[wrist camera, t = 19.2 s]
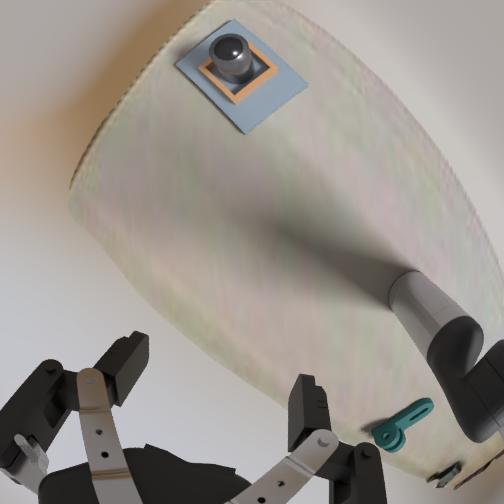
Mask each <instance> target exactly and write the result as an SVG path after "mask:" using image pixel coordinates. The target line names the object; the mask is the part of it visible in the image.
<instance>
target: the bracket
mask: <svg viewBox="0 0 504 504" xmlns="http://www.w3.org/2000/svg"><path fill="white" fill-rule="evenodd" d="M433 408H434V404H433V402H432V400H431V399H430V398H424V399H422V400H420V401H418V402H416V403H415V404H414V405H412V406H411V407H409V408H408V409H406V410H405V411H403V412H401V413H400V414H398V415H397V416H395V417H394V418H392V419H390V420H389V421H387V422H385V423H384V424H382V425H380V426H378V427H377V428H375V429H373V430H372V432H373V436H374V440H375V443H376V445H378V446H379V447H381V448H383V449H384V450H386V451H387V452H390V453H393V452H396V451H398V450H400V449H401V448H402V447H403V445H404V444H405V440H406V438H405V434H404V430H405V429H407V428H408V427H410V426H412V425H413V424H415V423H416V422H418V421H419V420H421V419H422V418H424V417H425V416H427V415H428V414H429V413H430V412H431V411H432V410H433Z"/></svg>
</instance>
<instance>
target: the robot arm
mask: <svg viewBox="0 0 504 504" xmlns="http://www.w3.org/2000/svg"><path fill="white" fill-rule="evenodd" d="M389 304H390V307H391V309H392V310H393V312H394V313H395V315H396V316H397V318H398V319H399V321H400V322H401V324H402V325H403V326H404V328H405V329H406V331H407V332H408V334H409V335H410V337H411V338H412V340H413V341H414V343H415V345H416V346H417V348H418V349H419V351H420V352H421V354H422V355H423V357H424V358H425V360H426V362H427V363H428V365H429V366H430V368H431V370H432V371H433V373H434V375H435V377H436V378H437V380H438V382H439V384H440V385H441V387H442V389H443V391H444V393H445V395H446V397H447V400H448V402H449V404H450V406H451V409H452V411H453V413H454V415H455V417H456V419H457V422H458V424H459V425H460V427H461V429H462V430H463V432H464V433H465V435H466V436H467V437H468V438H469V439H470V440H472V441H473V442H476V443H482V442H484V441H485V440H487V439H488V438H489V437H491V436H492V435H493V434H494V433H495V432H496V431H498V430H499V429H500V428H501V427H502V426H503V425H504V340H500V341H498V342H497V343H496V344H495V345H494V346H493V347H492V348H491V349H490V350H489V351H488V352H487V353H486V354H485V355H484V357H482V359H481V360H480V361H479V362H478V363H477V364H476V365H475V366H474V364H475V362H476V360H477V358H478V356H479V354H480V352H481V349H482V346H483V341H484V334H483V330H482V328H481V326H480V325H479V324H478V323H477V322H476V321H475V320H474V319H473V318H472V317H471V316H470V315H469V314H468V313H466V312H465V311H464V310H463V309H462V308H461V307H460V306H459V305H458V304H457V303H456V302H455V301H453V300H452V299H451V298H450V297H449V296H448V295H447V294H446V293H445V292H444V291H442V290H441V289H440V288H439V287H438V286H437V285H436V284H434V283H433V282H432V281H431V280H430V279H429V278H428V277H426V276H425V275H424V274H422V273H421V272H418V271H411V272H408V273H405V274H403V275H402V276H401V277H399V278H398V279H397V280H396V281H395V283H394V284H393V286H392V288H391V290H390V293H389ZM148 359H149V336H148V335H146V334H144V333H141V332H138V331H134V332H133V333H132V334H131V335H130V337H129V338H128V337H125V336H124V337H122V338H120V339H118V340H116V341H115V342H114V343H113V345H112V346H111V347H110V348H109V349H108V351H107V352H106V353H105V354H104V355H103V356H102V357H101V358H100V360H99V361H98V362H97V363H96V364H95V366H94V367H93V368H85V369H82V370H81V371H80V372H79V373H78V372H72V371H67V370H64V369H63V366H62V364H61V363H60V362H59V361H56V360H53V359H48V360H45V361H43V362H42V363H41V364H40V365H39V366H38V367H37V368H36V369H35V370H34V371H33V373H32V374H31V375H30V376H29V377H28V378H27V379H26V380H25V382H24V383H23V384H22V385H21V386H20V387H19V389H18V390H17V391H16V392H15V393H14V395H13V396H12V397H11V398H10V399H9V401H8V402H7V403H6V404H5V405H4V407H3V408H2V409H1V411H0V470H1V471H2V472H3V473H4V474H5V475H6V476H8V477H9V478H10V479H11V480H13V481H14V482H15V483H17V484H20V485H24V486H25V487H26V488H28V489H29V490H31V491H32V492H34V493H35V494H37V495H38V500H39V504H286V503H287V502H288V501H289V500H290V499H291V498H292V497H293V496H294V495H295V494H296V493H297V492H298V491H299V490H300V489H301V488H302V487H303V486H304V485H305V484H306V483H307V482H308V481H309V480H310V479H311V478H312V476H313V475H315V476H318V477H321V478H325V479H328V480H329V504H387V498H386V490H385V482H384V476H383V469H382V463H381V457H380V452H379V450H378V448H377V447H376V446H375V445H373V444H371V443H367V442H363V443H360V444H358V445H357V446H356V447H355V446H351V445H348V444H345V443H342V442H340V441H339V440H338V437H337V436H336V435H335V434H334V433H333V432H332V430H331V423H330V416H329V409H328V403H327V395H326V393H325V391H324V389H323V388H322V386H316V385H315V377H314V376H312V375H305V374H299V376H298V378H297V380H296V382H295V384H294V387H293V389H292V391H291V393H290V397H289V402H288V452H292V453H291V455H289V456H286V457H285V458H284V459H282V460H281V461H280V462H279V463H278V464H277V465H276V466H275V467H273V468H272V469H271V470H270V471H268V472H267V473H266V474H265V475H263V476H262V477H261V478H260V479H259V480H257V481H256V482H255V483H253V484H251V483H250V482H249V481H247V480H246V479H244V478H243V477H241V476H239V475H236V474H235V470H236V469H235V468H229V467H225V466H220V465H216V464H204V463H189V462H186V461H184V460H183V459H181V458H179V457H177V456H175V455H173V454H171V453H170V452H168V451H166V450H163V449H160V448H157V447H154V446H152V445H149V444H146V445H145V447H144V448H126V449H122V448H121V445H120V441H119V438H118V435H117V431H116V428H115V424H114V420H113V416H112V413H111V408H112V406H113V405H114V404H115V405H117V406H119V407H121V406H122V404H123V402H124V400H125V399H126V398H127V396H128V394H129V393H130V391H131V390H132V388H133V386H134V385H135V383H136V381H137V380H138V378H139V377H140V375H141V374H142V372H143V371H144V369H145V367H146V366H147V363H148ZM72 410H73V411H78V412H79V417H80V423H81V429H82V435H83V440H84V445H85V449H86V454H87V458H88V462H86V463H82V464H79V465H76V466H73V467H70V468H66V469H63V470H59V471H56V472H52V473H50V474H48V475H47V468H48V464H49V460H48V457H47V455H46V454H45V453H46V451H47V450H48V448H49V446H50V444H51V443H52V441H53V440H54V438H55V436H56V435H57V433H58V432H59V430H60V428H61V427H62V425H63V424H64V422H65V420H66V419H67V417H68V416H69V414H70V412H71V411H72Z"/></svg>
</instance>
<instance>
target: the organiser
mask: <svg viewBox="0 0 504 504" xmlns="http://www.w3.org/2000/svg"><path fill="white" fill-rule="evenodd" d="M229 33H234V34H238V35H241V36H242V37H244V38H245V39H246V40H247V42H248V45H249V48H250V52H251V56H252V59H253V63H254V67H255V73H254V76H253V77H252V79H251V80H249V81H248V82H246V83H244V84H240V85H234V84H231V83H229V82H227V81H226V80H225V79H224V77H223V76H222V74H221V73H220V71H219V70H218V68H217V67H216V65H215V64H214V62H213V60H212V59H211V57H210V55H209V47H210V45H211V43H212V42H213V41H214V40H215V39H216V38H217V37H219V36H221V35H224V34H229ZM176 66H177V67H179V68H180V69H181V70H182V71H183V72H184V73H185V74H186V75H187V76H188V77H189V78H190V79H191V80H192V81H193V82H194V83H195V84H196V85H198V86H199V87H200V88H201V89H202V90H203V91H204V92H205V93H206V94H207V95H208V96H209V97H210V98H211V99H212V100H213V101H214V102H215V103H216V104H217V105H218V106H219V107H220V108H221V109H222V110H223V111H224V112H225V114H226V115H227V116H228V117H229V118H230V119H231V120H232V121H233V122H234V123H235V124H236V125H237V126H238V127H239V128H240V129H241V130H242V131H243V133H244V134H245V135H246V134H248V133H249V132H250V131H251V130H252V129H254V128H255V127H256V126H257V125H258V124H260V123H261V122H262V121H263V120H265V119H266V118H267V117H268V116H270V115H271V114H272V113H273V112H275V111H276V110H277V109H278V108H280V107H281V106H282V105H284V104H285V103H286V102H287V101H289V100H290V99H291V98H293V97H294V96H295V95H297V94H298V93H300V92H301V91H302V90H304V89H305V88H306V87H308V84H307V83H306V82H305V81H304V80H303V79H302V78H301V77H300V76H299V75H298V74H297V73H296V72H295V71H294V70H293V69H292V68H291V67H290V66H289V65H288V64H287V63H286V62H285V61H284V60H283V59H282V58H281V57H279V56H278V55H277V54H276V53H275V52H274V51H273V50H272V49H270V48H269V47H268V46H267V45H266V44H265V43H264V42H262V41H261V40H260V39H259V38H258V37H256V36H255V35H254V34H253V33H251V32H250V31H249V30H248V29H246V28H245V27H244V26H243V25H241V24H240V23H239V22H237V21H236V20H235V19H233V20H232V21H230V22H229V23H227V24H226V25H224V26H223V27H222V28H220V29H219V30H218V31H216V32H215V33H213V34H212V35H211V36H209V37H208V38H207V39H206V40H204V41H203V42H202V43H200V44H199V45H198V46H197V47H195V48H194V49H193V50H192V51H191V52H189V53H188V54H187V55H186V56H185V57H184V58H182V59H181V60H180V61H179V62H178V63H177V64H176Z"/></svg>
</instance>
